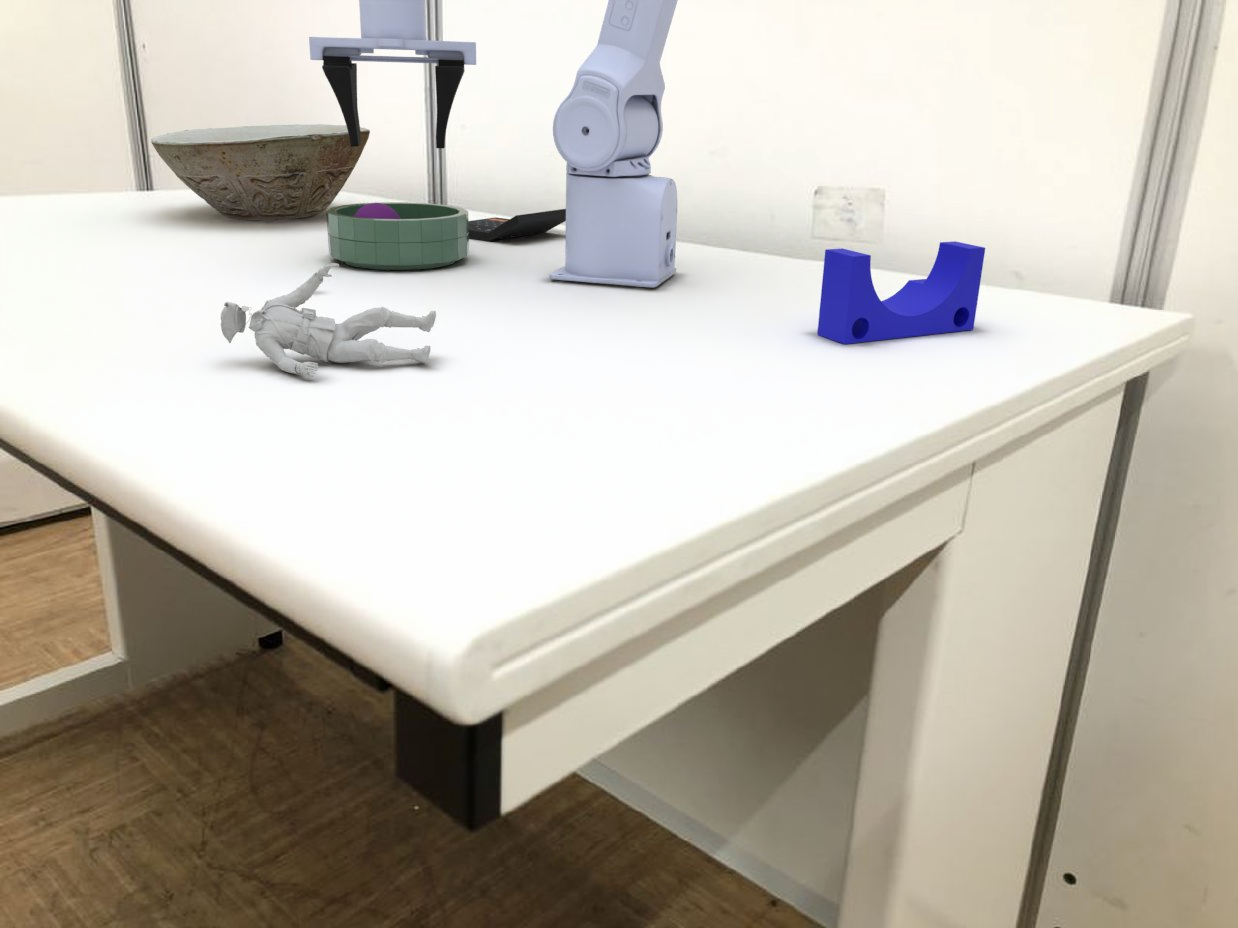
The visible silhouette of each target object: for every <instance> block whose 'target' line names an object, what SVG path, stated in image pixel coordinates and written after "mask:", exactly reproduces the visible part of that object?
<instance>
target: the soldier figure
mask: <svg viewBox="0 0 1238 928" xmlns="http://www.w3.org/2000/svg"><path fill="white" fill-rule="evenodd" d="M338 267H340V264H339V263H336V262H332V263H326V264H325V265H324V266H323V267H321V268H319V269H318V271H317V272H315V273H313V274H312V275H311V276H310V277H309V278H308V279H307V280H306V281H305V282H304V283H302V284H301V285H300V286H298V287H296V289H295V290H292V291H291V292H290V293H287V294H284V295H280V296H278V297H275V298H272V299H269V300H266V301H265V302H264V305H263V306H262V307H261V309H259V310H257V311H255V312H253V313H251V310H252V309H253V308H252V307H250V306H247V305H242V306H239V305H238V304H237V303H235V302H230V301H225V302H224V303H223V309H222V310H221V313H220V330H221V333H222V335H223V337H224V338H225V339H226V340H227V342H228V344H231V343H232V341H233V339H234V338H235V336H236V335H237V333H240V334H243V333H244V332H245V329H246V326H247V324H248V322H249V325H248V329H249V330H251V331H253V332H254V339H255V340H254V342H255V345H256V347H258V349H259V350H260V351H261V352H262V354H264V355H265V356H266V358H269V360H270V361H272V363H273V364H274V365H275V366H277V367H278V369H279V370H281V371H283V372H286V373H289V374H295V375H299V376H301V375H304V376H306V377H308V378H315V375H316V374H317V372H318V369H319V363H318V362H313V361H304V362H300V361H297V360H295V359H293V358H292V357H290V356H289V355H288V354H287V353H286V352H285V350H290V351H293V352H295V353H297V354H300V355H302V356H304V355H306V356H309V357H310V358H314V359H319V360H321V361H323V362H325V363H332V362H333V363H338V364H347V363H355V362H361V361H373V362H380V363H382V364H383V363H385V362H389V361H390V362H391V361H404V360H405V361H406V360H412V361H413V360H414V361H416V362H418V363H423V364H425V363H426V362H428V360H429V358H430V354H431V345H424V346H423V347H422V348H419V347H416V348H413V349H408V348H399V347H395V346H391V345H385V343H383V342H379V341H378V340H377V339H375V338H366V339H362V340H360V339H361V338H363V337H364V336H365V335H369V334H370V333H373V332H376V331H377V330H379V329H380V328H389V329H390V328H414V329H416V328H418V329H419V330H420V331H422V332H426V333H430V332H431V329H432V328H433V327H434V325H435V323H436V317H437V312H436V310H430V311H429V313H428V314H427V315H426V316H425V315H422V316H421V317H420V316H415V315H411V314H404V313H400V312H398V311H395V310H390V309H388V308H387V307H384V306H380V307H372V308H370V309H366V310H364V311H362V312H359V313H357V314H354V315H352V316H350V317H348V318H346V319H345V320H344V321H343V322H340V323H336V321H335V318H332V317H328V316H327V317H326V316H318V315H317V311H316V309H313V308H307V307H301V309H300V310H299V309H297V308H298V307H299V306H302V305H304V304H306V302H307V301H309V300H310V298H312V296H313V295H314V294H315V292H316V291H317V290H318V289H319V287H320V285H321V284H323V282H324V277H327V278H331V277H333V275H332V274H328V273H329V272H330V270H331V269H332V268H338ZM248 311H249V314H248V316H249V319H248V321H247V314H246V312H248Z"/></svg>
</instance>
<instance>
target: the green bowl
mask: <svg viewBox="0 0 1238 928" xmlns="http://www.w3.org/2000/svg"><path fill="white" fill-rule="evenodd" d="M370 203H371V202H363V203H350V204H343V205H338V206H334V207H333V206H332V207H330V208H328V209H326V210H325V213H326V229H327V243H328V245H327V246H328V254H329V256H330V257H331V258H333V259H335V260H337V261H340V262H342V263H344V264H346V265H348V266H351V267H355V268H360V269H367V270H368V269H369V270H378V271H379V270H380V271H415V270H427V269H436V268H437V269H438V268H443V267H447V266H450V265H453V264H454V263H456V262H457V261H459V260H462V259H465V258H467V257H469V256H468V255H470V238H469V233H468V232H469V223H468V221H469V211H468V210H467V209H466V208H463V207H459V206H456V205H455V206H454V205H449V204H439V203H426V202H406V201H405V202H404V201H403V202H402V201H400V202H399V201H398V202H397V201H393V202H391V201H390V202H387V201H386V202H381V203H382V204H385V205H387V206H389V207H391V208H392V209H393V210H394V211H395V212H396V213H397V214H398V215H399V217H400V219H374V218H360V217H354V215H355V213H356V212H357V211H358V210H359V209H360V208H361V207H363V206H364V205H367V204H370Z"/></svg>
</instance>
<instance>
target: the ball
mask: <svg viewBox="0 0 1238 928" xmlns="http://www.w3.org/2000/svg"><path fill="white" fill-rule="evenodd" d="M369 203H370V204H367V205H364V206H363V207H361V208H360V209H359V210H358V211H357V212H356V213H355V215H354V217H360V218H374V219H400V217H399V215H398V214H397V213H396V212H395V211H394V210H393V209H392V208H391V207H389V206H387V205H385V204H382V202H369Z"/></svg>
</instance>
